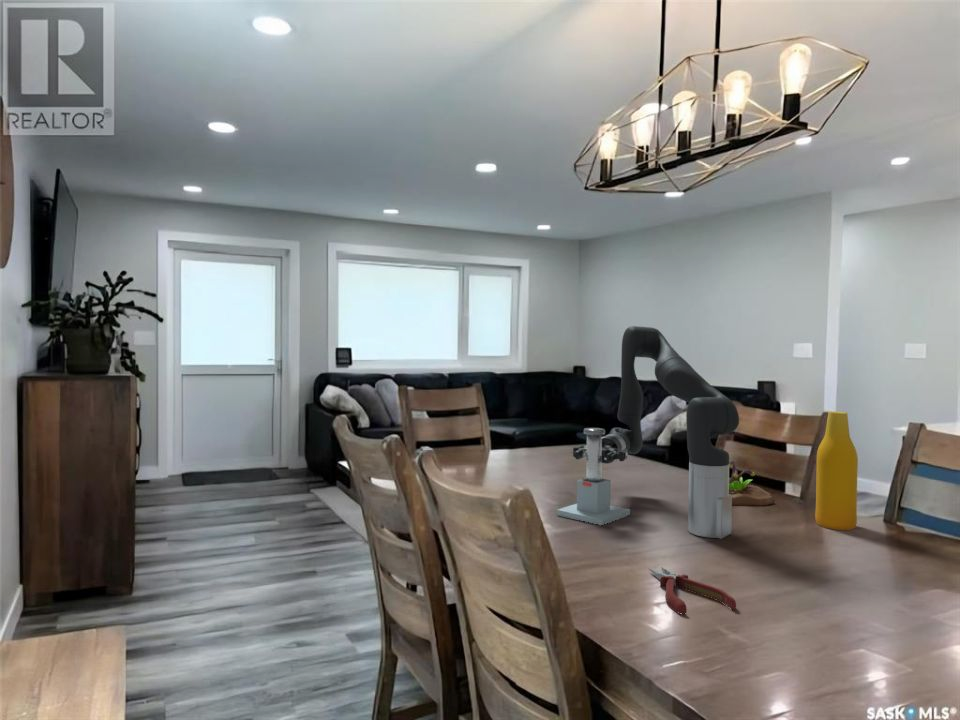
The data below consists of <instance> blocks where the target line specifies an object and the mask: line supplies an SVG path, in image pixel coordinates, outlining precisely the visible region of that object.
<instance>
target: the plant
mask: <svg viewBox="0 0 960 720" xmlns="http://www.w3.org/2000/svg"><path fill="white" fill-rule="evenodd" d="M735 464H736V463H735V461H734V460H732V459H731V460H729V466H732V472H731V477H729V494H730V495H732V506H739V505H740V506H757V507H758V506H768V505H771V504H773V503H774V497H773V496H772V493H770V492H768V491H766V490H764V489H763V488H761V487H759V486H758V485H755V484H753V483H752V481H753V479H751V478H750V479H746V480H745V481H744V480H743V477H742V475H744V474H746V473H749V475H750V476H751V477H755V475H756V474H755V472H754V471H753V470H751V469H744V470H743V471H741V472H740V473H739V472H738V470H737V469H736V465H735Z"/></svg>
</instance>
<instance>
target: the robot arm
mask: <svg viewBox="0 0 960 720" xmlns="http://www.w3.org/2000/svg"><path fill="white" fill-rule="evenodd" d="M636 358H645V359H646V358H649V359H652V360H654V361H655V362H656V363H655V366H654V375H655V378H656V381H657V382H658V383H659V384H660V385H661V386H662V387H663V389H664V390H665V391H666V392H668V393H669V394H670V395H672V396H673V397H675V398H677V399H679V400H682V401H684V402H686V403H688V405H687V407H686V418H685V421H686V443H687V444H686V445H687V446H686V447H687V451H688V452H687V453H688V456H689V458H688V462H689V463H688V508H687V509H688V513H687V514H688V515H687V516H688V517H687V518H688V521H687V528H688V529H687V531H688V532H689V533H690V534H692V535H694V536H698V537H704V538H711V539H720V540H722V539H724V538H726V537H727V536H729V535H731V534H732V521H733V520H732V519H733V517H732V515H733V512H732V511H733V510H732V509H733V508H732V507H733V505H732V495H730V494H729V478H730V464H729V462H730V453H729V452H727V450H724V449H722V448H718V447H716V446H714V445H713V444H712V441H711V436H722V435H723V436H724V435H728V434H731V433H734V432H735V431H736V429H737V428H738V426H739V424H740V416H739V412H738V409H737V407H736V405H735V404H734V402H733V401H732V400H731V399H730V398H729V397H727V396H726V395H724V393H722V392H720V391H719V390H718V389H716V388H715V387H713V385H711V384H710V383H709V382H708V381H707V380H705V379H704V377H703V376H701V375H700V374H699V372H697V371H696V370H695V369H694V368H693V367H692V366H691V365H690V364H689V363H688V362H687V361H686V360H685V359H684V357H682V356H681V355H679V353H678V352H677V351H676V350H675V348H674V347H672V345H671V344H670V343H669V342H668V340H667V339H666V338H665V336H664V334H663V333H662V332H661V331H660V330H659V329H658V328H655V327H651V326H636V325H635V326H634V325H631V326H628V327H627V328H626V329H625V330H624V331H623V336H622V340H621V358H620V359H621V363H620V364H621V365H620V368H621V372H620V373H621V374H620V376H621V377H620V378H621V380H620V381H621V383H620V385H621V386H620V396H619V402H618V409H617V410H618V411H617V417H616V418H617V419H618V421H619V422H621V423H623V424H624V425H627V426H628V427H629V429H626V428H622V427H613V428H611V430H610V431H609V433H608V434H607V435H606V434H605V435H603V436H602V464H606V465H607V464H612V463H613V462H616V461H617V460H618V462H619V461H620V462H624V461H625V460H627V459H628V454H630V455H636V454H637V455H638V453H640V452H641V450H642V448H643V444H644V443H643V433H642V424H641V421H642V420H641V419H642V418H641V416H642V411H643V406H644V405H643V404H644V393H643V390H642V387H641V384H640V382H639V379H638V377H637V374H636V370H635V369H636V368H635V362H636ZM572 457H574V458H575V460H581V459H583V458H585V459H587V445H584V444H580V445H577V446H574V447H573V448H572Z"/></svg>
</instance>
